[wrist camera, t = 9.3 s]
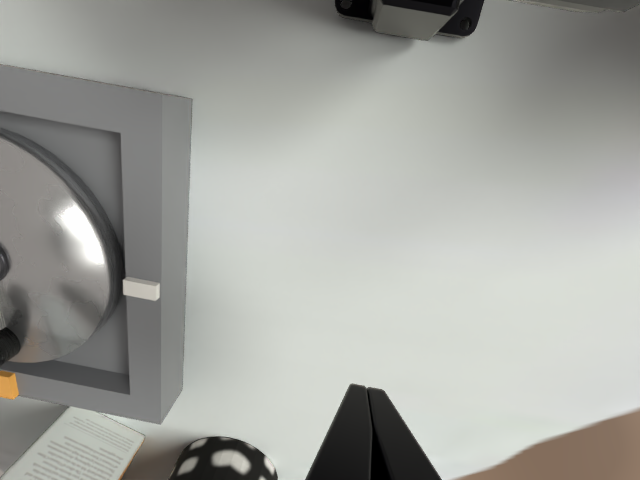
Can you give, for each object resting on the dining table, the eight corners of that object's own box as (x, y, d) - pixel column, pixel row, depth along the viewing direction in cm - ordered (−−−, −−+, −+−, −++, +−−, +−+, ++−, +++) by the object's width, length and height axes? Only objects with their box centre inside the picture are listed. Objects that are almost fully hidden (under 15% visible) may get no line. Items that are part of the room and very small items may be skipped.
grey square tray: (-168, 33, 18) (-279, 14, 15) (192, 98, 18) (157, 94, 15) (-79, 337, 25) (-142, 369, 22) (182, 389, 25) (157, 429, 21)
